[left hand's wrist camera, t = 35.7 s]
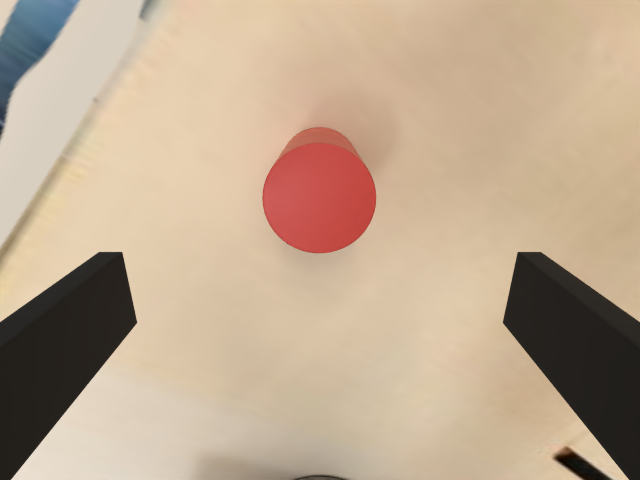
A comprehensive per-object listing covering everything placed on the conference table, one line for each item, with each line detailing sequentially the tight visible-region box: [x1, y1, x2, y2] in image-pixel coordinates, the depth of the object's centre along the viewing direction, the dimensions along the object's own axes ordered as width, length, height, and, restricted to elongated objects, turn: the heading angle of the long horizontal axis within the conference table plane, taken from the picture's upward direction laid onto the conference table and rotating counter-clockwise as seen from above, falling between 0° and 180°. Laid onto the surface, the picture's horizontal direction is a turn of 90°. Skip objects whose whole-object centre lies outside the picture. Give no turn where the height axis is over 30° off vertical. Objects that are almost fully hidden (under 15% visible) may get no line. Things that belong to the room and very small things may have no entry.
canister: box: [263, 127, 376, 253], centre depth 28 cm, size 7×7×12 cm
